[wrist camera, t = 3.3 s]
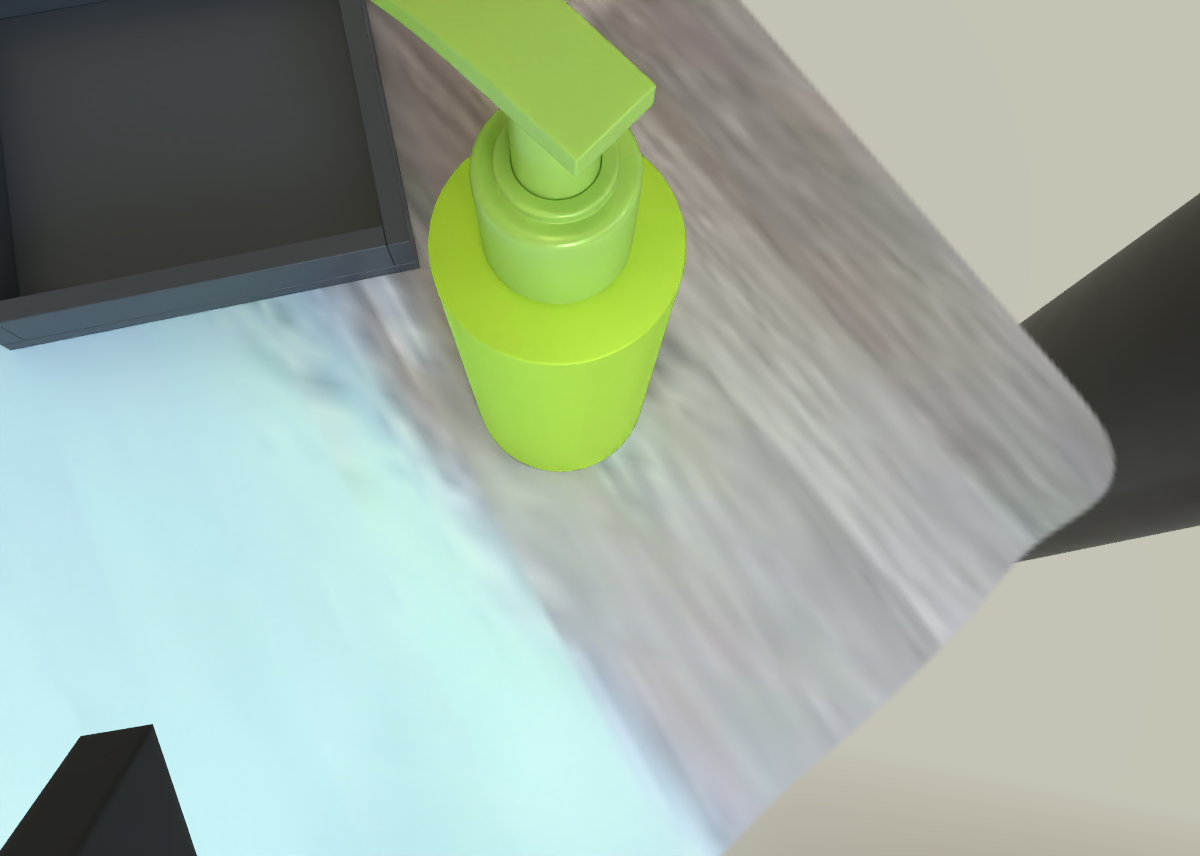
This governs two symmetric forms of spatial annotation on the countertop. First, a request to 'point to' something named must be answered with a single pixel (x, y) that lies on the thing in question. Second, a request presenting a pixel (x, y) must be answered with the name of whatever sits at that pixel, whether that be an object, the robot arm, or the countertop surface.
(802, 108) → the countertop surface
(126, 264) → the tray
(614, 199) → the soap dispenser
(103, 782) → the robot arm
